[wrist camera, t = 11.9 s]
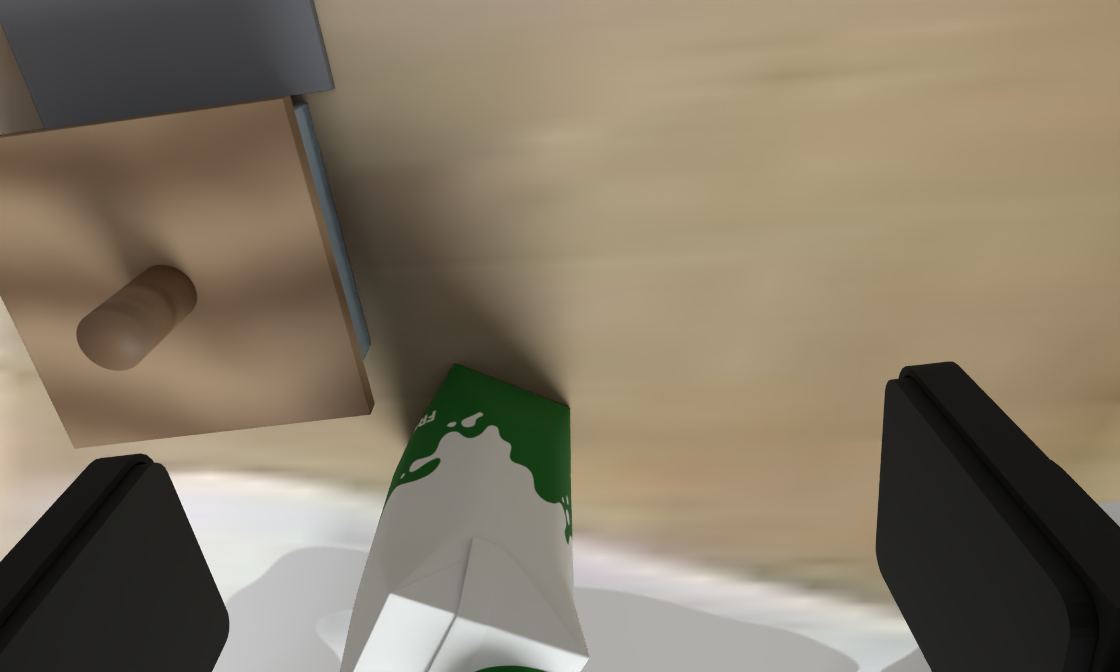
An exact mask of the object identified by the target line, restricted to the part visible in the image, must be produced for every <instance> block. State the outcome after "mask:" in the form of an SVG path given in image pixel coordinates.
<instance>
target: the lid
mask: <svg viewBox="0 0 1120 672" xmlns="http://www.w3.org/2000/svg"><path fill="white" fill-rule="evenodd" d="M0 296H1V298H2V300H3V302H4V304H5V306H6V308H7V310H8V312H9V314H10V316H11V318H12V320H13V322H14V325H15V327H16V329H17V331H18V333H19V335H20V337H21V339H22V341H23V343H24V345H25V347H26V349H27V351H28V353H29V356H30V358H31V360H32V362H33V364H34V366H35V368H36V370H37V372H38V374H39V376H40V378H41V380H42V382H43V384H44V386H45V389H46V391H47V393H48V395H49V397H50V399H51V401H52V403H53V405H54V407H55V409H56V411H57V413H58V415H59V417H60V420H61V422H62V424H63V426H64V428H65V430H66V432H67V434H68V436H69V438H70V440H71V442H72V444H73V446H74V448H84V447H92V446H101V445H110V444H118V443H127V442H136V441H144V440H153V439H162V438H170V437H179V436H188V435H196V434H205V433H214V432H222V431H231V430H240V429H248V428H257V427H266V426H275V425H283V424H292V423H301V422H309V421H318V420H327V419H335V418H344V417H353V416H361V415H370V414H371V412H372V409H373V407H374V404H375V403H374V400H373V396H372V392H371V389H370V385H369V381H368V378H367V374H366V370H365V367H364V363H363V359H362V356H361V352H360V348H359V345H358V341H357V337H356V334H355V330H354V327H353V323H352V319H351V316H350V312H349V308H348V305H347V301H346V297H345V294H344V290H343V286H342V283H341V279H340V275H339V272H338V268H337V264H336V261H335V257H334V253H333V250H332V246H331V242H330V239H329V235H328V232H327V228H326V224H325V221H324V217H323V213H322V210H321V206H320V202H319V199H318V195H317V191H316V188H315V184H314V180H313V177H312V173H311V169H310V166H309V162H308V158H307V155H306V151H305V147H304V144H303V140H302V137H301V133H300V129H299V126H298V122H297V118H296V115H295V111H294V107H293V104H292V100H291V96H290V95H285V96H277V97H270V98H263V99H256V100H249V101H241V102H234V103H227V104H220V105H213V106H205V107H198V108H191V109H184V110H176V111H169V112H162V113H155V114H148V115H140V116H133V117H126V118H119V119H111V120H104V121H97V122H90V123H83V124H75V125H68V126H61V127H54V128H46V129H39V130H32V131H25V132H18V133H10V134H3V135H0Z"/></svg>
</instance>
